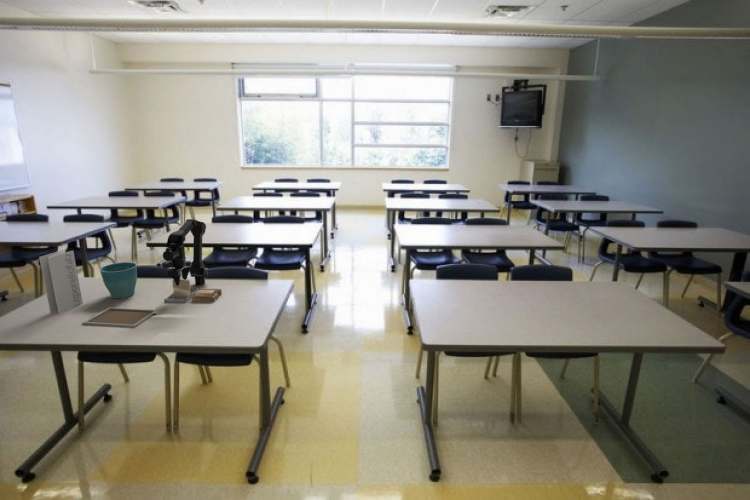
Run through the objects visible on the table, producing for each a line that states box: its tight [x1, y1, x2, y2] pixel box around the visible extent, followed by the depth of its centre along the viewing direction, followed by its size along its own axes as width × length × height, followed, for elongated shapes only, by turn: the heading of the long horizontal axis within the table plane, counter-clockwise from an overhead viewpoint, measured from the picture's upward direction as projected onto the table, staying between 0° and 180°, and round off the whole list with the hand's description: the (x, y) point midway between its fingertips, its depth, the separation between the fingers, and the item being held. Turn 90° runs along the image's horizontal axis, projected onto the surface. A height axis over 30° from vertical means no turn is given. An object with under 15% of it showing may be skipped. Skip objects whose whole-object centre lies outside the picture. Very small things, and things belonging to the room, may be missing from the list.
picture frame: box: [81, 306, 157, 328], centre depth 214 cm, size 19×2×30 cm
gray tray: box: [163, 287, 201, 303], centre depth 240 cm, size 19×12×3 cm, turn 0°
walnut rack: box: [191, 288, 222, 303], centre depth 238 cm, size 12×12×4 cm
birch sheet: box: [171, 279, 192, 298], centre depth 238 cm, size 2×9×10 cm, turn 90°
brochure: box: [38, 249, 83, 315], centre depth 221 cm, size 14×6×30 cm, turn 168°
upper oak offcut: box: [195, 290, 215, 297], centre depth 234 cm, size 4×9×2 cm, turn 90°
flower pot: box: [99, 261, 138, 299], centre depth 242 cm, size 18×18×17 cm
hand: (181, 282), depth 237 cm, fingers open, 9 cm apart
